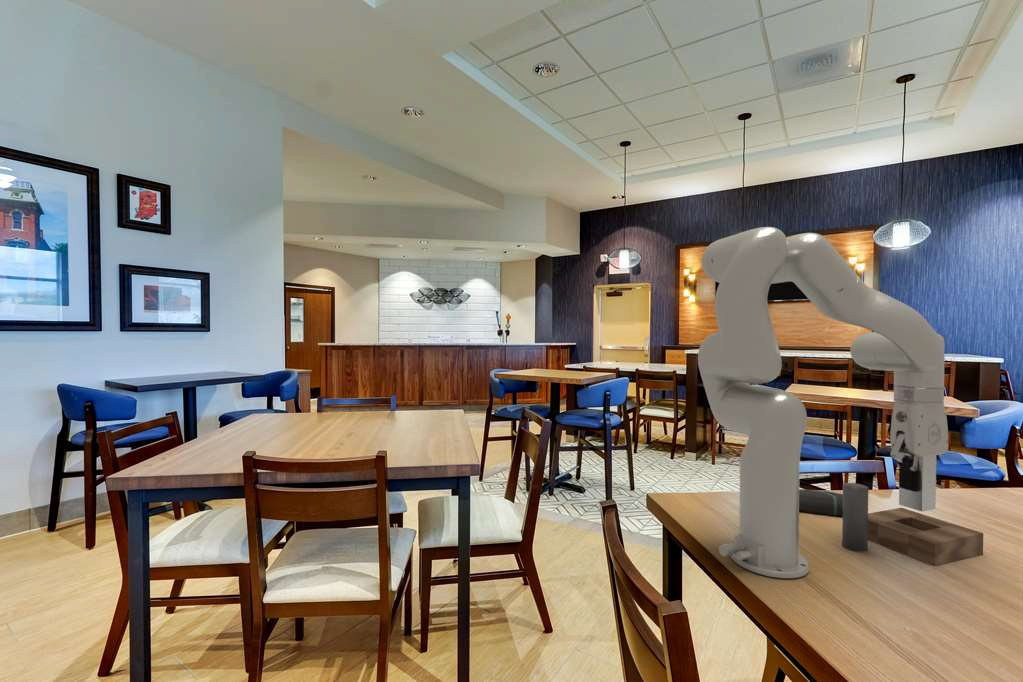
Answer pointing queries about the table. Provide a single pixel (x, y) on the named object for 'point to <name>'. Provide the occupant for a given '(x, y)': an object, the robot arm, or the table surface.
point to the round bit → (855, 517)
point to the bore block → (923, 536)
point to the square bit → (922, 486)
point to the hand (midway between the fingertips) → (916, 487)
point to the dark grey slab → (821, 502)
